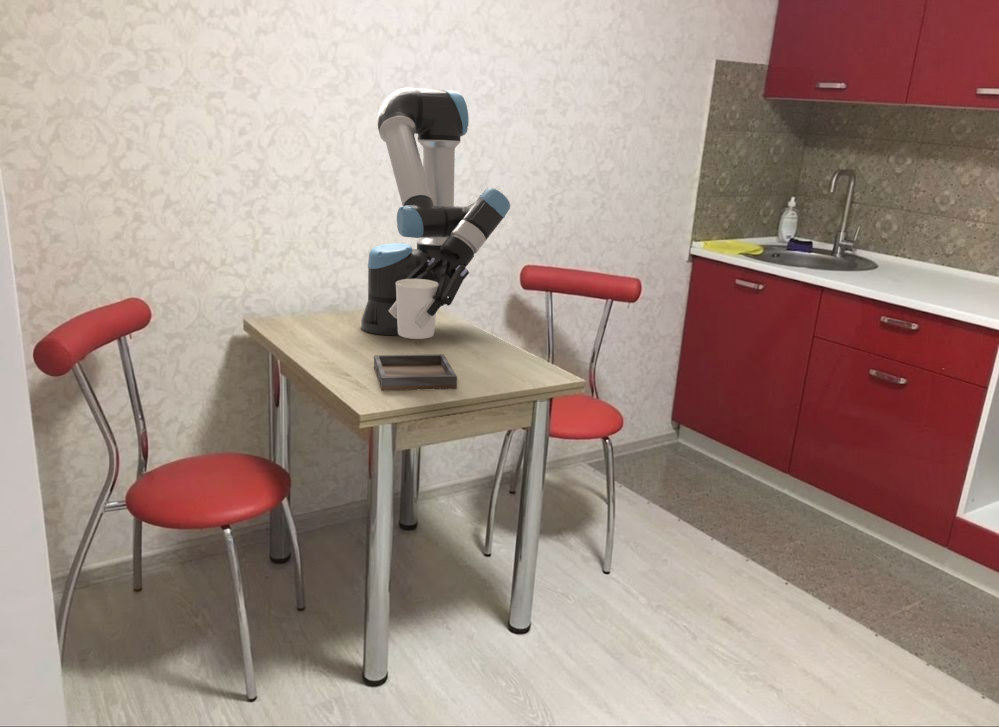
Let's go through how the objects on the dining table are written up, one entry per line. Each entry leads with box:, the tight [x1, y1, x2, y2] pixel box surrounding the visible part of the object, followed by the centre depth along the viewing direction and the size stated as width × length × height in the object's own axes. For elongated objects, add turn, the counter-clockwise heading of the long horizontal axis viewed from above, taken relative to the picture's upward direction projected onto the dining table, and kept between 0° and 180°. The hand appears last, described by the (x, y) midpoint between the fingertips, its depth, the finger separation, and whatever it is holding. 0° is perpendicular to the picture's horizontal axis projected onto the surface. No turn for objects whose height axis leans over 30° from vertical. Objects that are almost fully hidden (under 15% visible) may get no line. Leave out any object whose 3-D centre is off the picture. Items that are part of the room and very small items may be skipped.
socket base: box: [373, 353, 458, 392], centre depth 200 cm, size 17×17×3 cm
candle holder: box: [396, 279, 439, 340], centre depth 195 cm, size 10×10×12 cm
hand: (405, 319), depth 194 cm, fingers closed on candle holder, 9 cm apart
